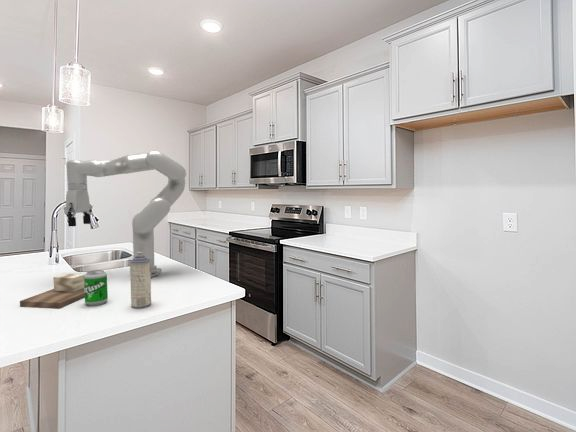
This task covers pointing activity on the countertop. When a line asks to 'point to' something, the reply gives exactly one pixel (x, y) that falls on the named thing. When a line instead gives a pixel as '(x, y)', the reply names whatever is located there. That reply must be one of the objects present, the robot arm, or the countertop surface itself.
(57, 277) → the block
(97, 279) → the soda can
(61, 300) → the board
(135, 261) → the aerosol can
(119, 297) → the countertop surface
